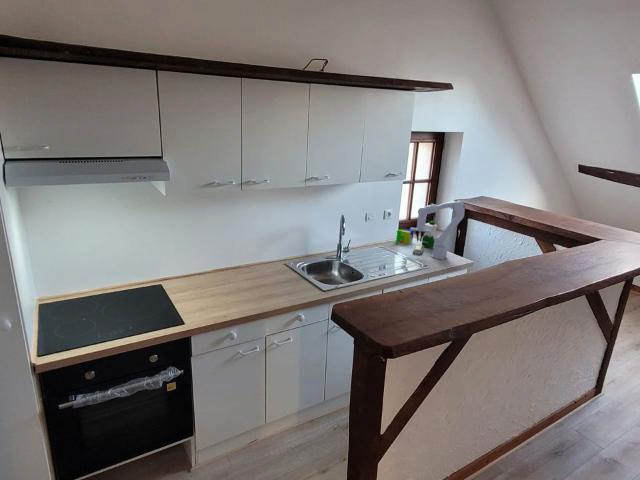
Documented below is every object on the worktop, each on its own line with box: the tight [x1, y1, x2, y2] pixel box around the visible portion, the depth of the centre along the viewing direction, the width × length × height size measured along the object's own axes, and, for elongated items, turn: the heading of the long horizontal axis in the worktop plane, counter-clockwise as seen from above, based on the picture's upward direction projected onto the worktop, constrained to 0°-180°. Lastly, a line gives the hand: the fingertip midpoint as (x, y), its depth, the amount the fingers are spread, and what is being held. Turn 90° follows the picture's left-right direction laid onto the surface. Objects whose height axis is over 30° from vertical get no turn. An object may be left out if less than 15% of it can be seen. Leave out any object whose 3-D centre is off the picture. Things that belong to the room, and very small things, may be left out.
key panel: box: [412, 244, 425, 256], centre depth 310 cm, size 17×6×2 cm, turn 161°
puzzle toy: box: [395, 227, 415, 245], centre depth 330 cm, size 10×10×10 cm
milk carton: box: [421, 220, 438, 249], centre depth 320 cm, size 9×9×20 cm
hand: (419, 241), depth 303 cm, fingers closed
